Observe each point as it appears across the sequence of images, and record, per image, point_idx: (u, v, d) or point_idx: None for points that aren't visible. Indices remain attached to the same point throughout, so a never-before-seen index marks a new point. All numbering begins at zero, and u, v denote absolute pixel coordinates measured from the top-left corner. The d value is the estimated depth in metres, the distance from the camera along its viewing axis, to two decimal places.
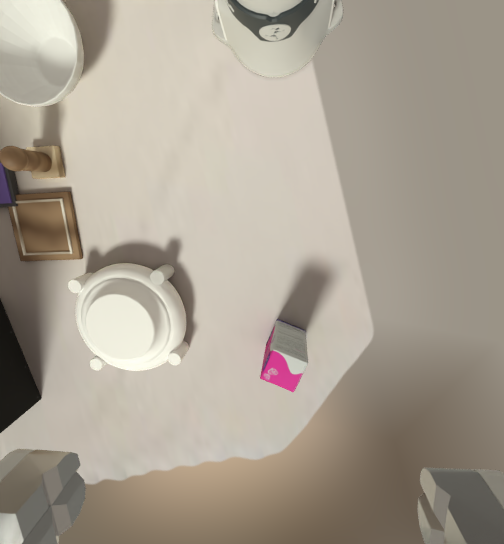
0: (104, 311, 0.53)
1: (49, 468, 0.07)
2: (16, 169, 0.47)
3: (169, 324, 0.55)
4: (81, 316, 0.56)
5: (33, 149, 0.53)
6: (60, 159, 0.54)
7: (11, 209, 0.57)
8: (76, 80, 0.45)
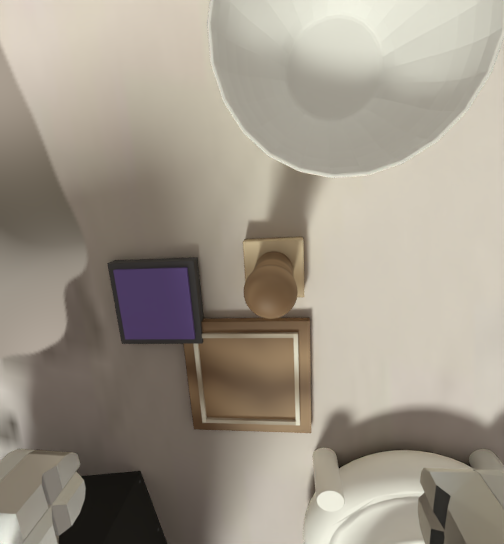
0: None
1: (49, 468, 0.07)
2: (278, 317, 0.21)
3: None
4: None
5: (258, 245, 0.26)
6: None
7: (189, 346, 0.30)
8: None
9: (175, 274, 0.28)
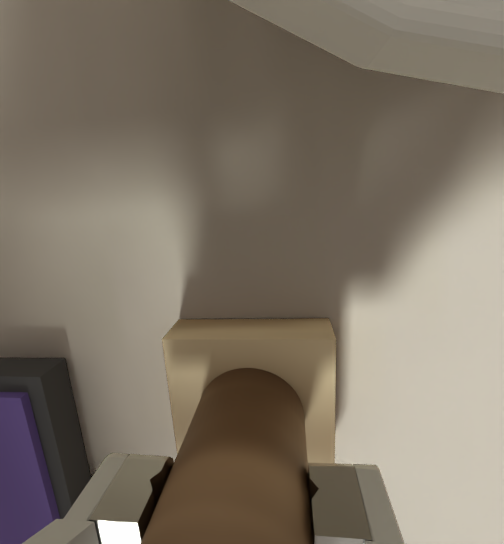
0: None
1: (155, 473, 0.07)
2: None
3: None
4: None
5: (205, 351, 0.09)
6: None
7: None
8: None
9: None
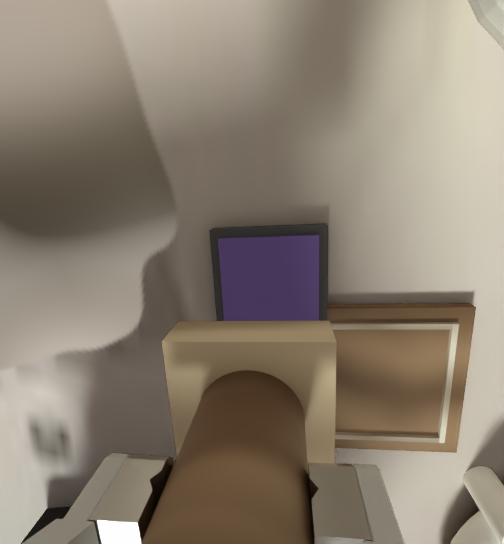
0: None
1: (154, 473, 0.07)
2: None
3: None
4: None
5: (204, 353, 0.09)
6: None
7: None
8: None
9: (302, 244, 0.21)
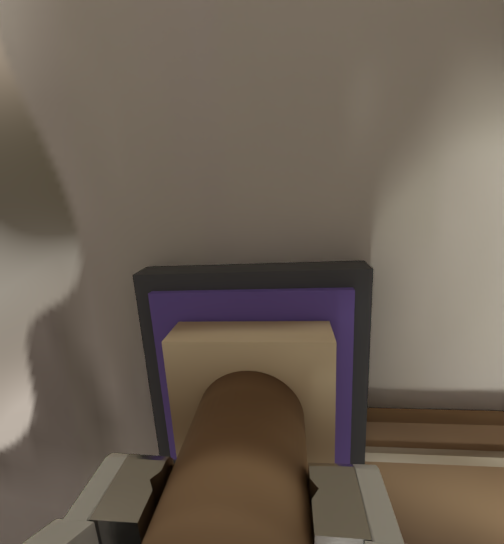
0: None
1: (155, 473, 0.07)
2: None
3: None
4: None
5: (204, 354, 0.09)
6: None
7: None
8: None
9: (320, 306, 0.10)
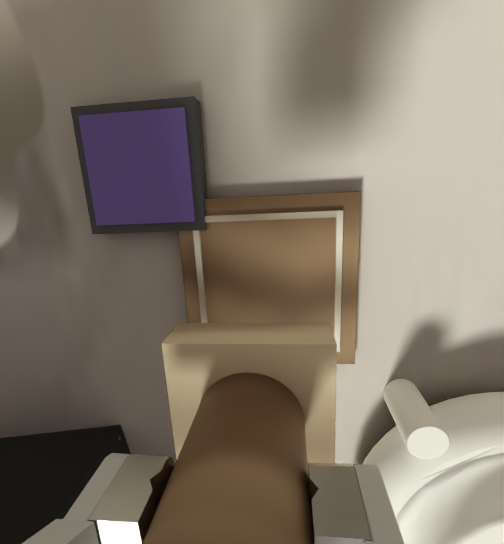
0: None
1: (154, 473, 0.07)
2: None
3: None
4: (400, 511, 0.21)
5: (204, 356, 0.09)
6: None
7: (186, 237, 0.21)
8: None
9: (167, 118, 0.19)
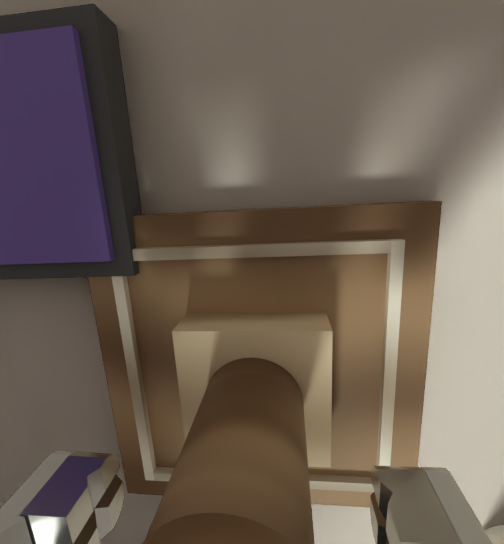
0: None
1: (93, 470, 0.07)
2: None
3: None
4: None
5: (211, 342, 0.10)
6: None
7: (104, 287, 0.12)
8: None
9: (41, 51, 0.09)
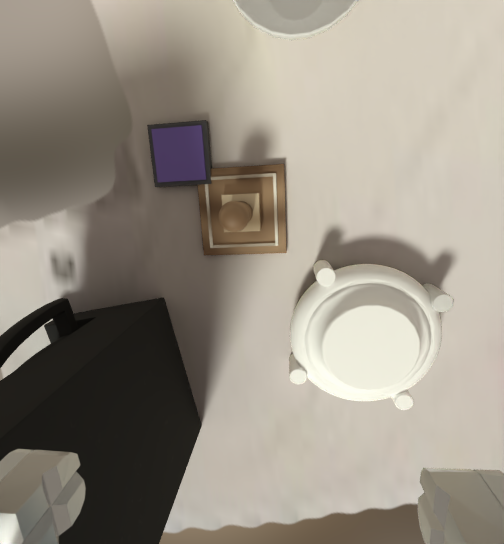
0: (362, 323, 0.40)
1: (49, 468, 0.07)
2: (238, 230, 0.37)
3: (423, 361, 0.42)
4: (312, 315, 0.43)
5: (230, 197, 0.42)
6: None
7: (201, 188, 0.44)
8: (358, 0, 0.32)
9: (193, 130, 0.41)
